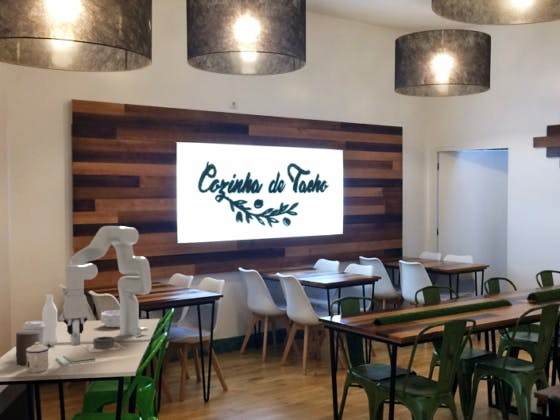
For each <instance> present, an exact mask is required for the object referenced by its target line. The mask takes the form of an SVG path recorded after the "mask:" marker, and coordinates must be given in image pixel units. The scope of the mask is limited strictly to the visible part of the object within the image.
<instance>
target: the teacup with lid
mask: <svg viewBox="0 0 560 420" xmlns="http://www.w3.org/2000/svg"><path fill="white" fill-rule="evenodd" d="M49 350H50V349H49V346H45V345H44V344H43V345H41V344H40V343H39V342H35V345H33V346H31V347H29V348H27V349H26V361H27V365H26V372H28V373H41V372H45V371H47V370H48V369H49Z"/></svg>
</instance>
